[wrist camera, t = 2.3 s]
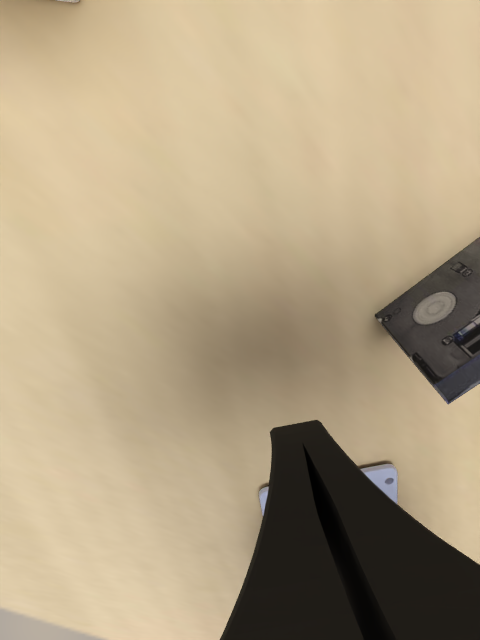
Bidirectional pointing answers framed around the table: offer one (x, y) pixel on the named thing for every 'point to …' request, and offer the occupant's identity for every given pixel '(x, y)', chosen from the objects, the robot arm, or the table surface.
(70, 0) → the ink cartridge box
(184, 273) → the table surface
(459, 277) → the mini dv tape
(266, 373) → the table surface
